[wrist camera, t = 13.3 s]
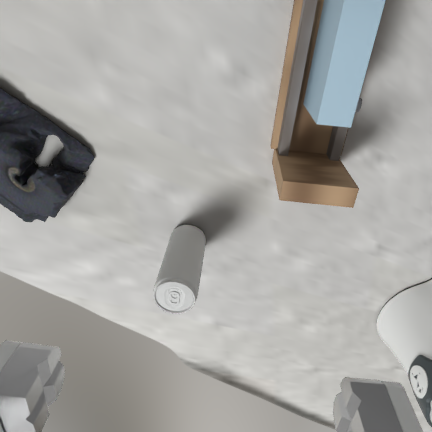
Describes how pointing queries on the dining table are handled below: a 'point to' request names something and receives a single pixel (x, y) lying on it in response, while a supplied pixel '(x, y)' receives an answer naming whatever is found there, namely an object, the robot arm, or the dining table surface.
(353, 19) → the door panel
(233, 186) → the dining table surface
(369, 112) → the dining table surface
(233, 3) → the dining table surface
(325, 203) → the wooden rack
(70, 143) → the dark grey flat piece
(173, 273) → the beverage can
